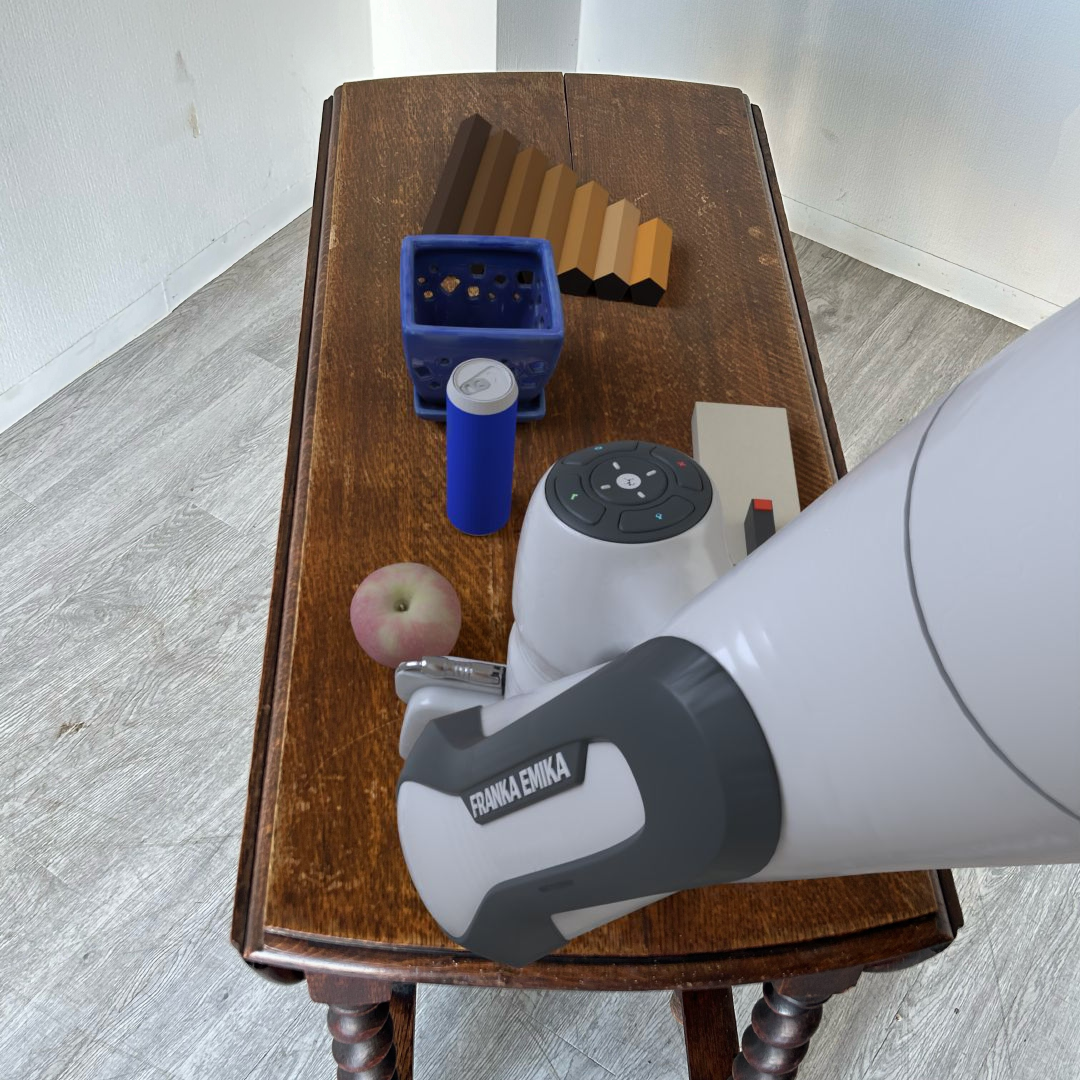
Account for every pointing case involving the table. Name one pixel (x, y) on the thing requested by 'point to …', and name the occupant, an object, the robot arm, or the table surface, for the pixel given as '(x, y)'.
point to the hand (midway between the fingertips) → (567, 803)
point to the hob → (746, 463)
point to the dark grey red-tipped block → (758, 524)
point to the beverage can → (480, 445)
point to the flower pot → (479, 315)
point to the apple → (405, 614)
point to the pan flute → (548, 216)
